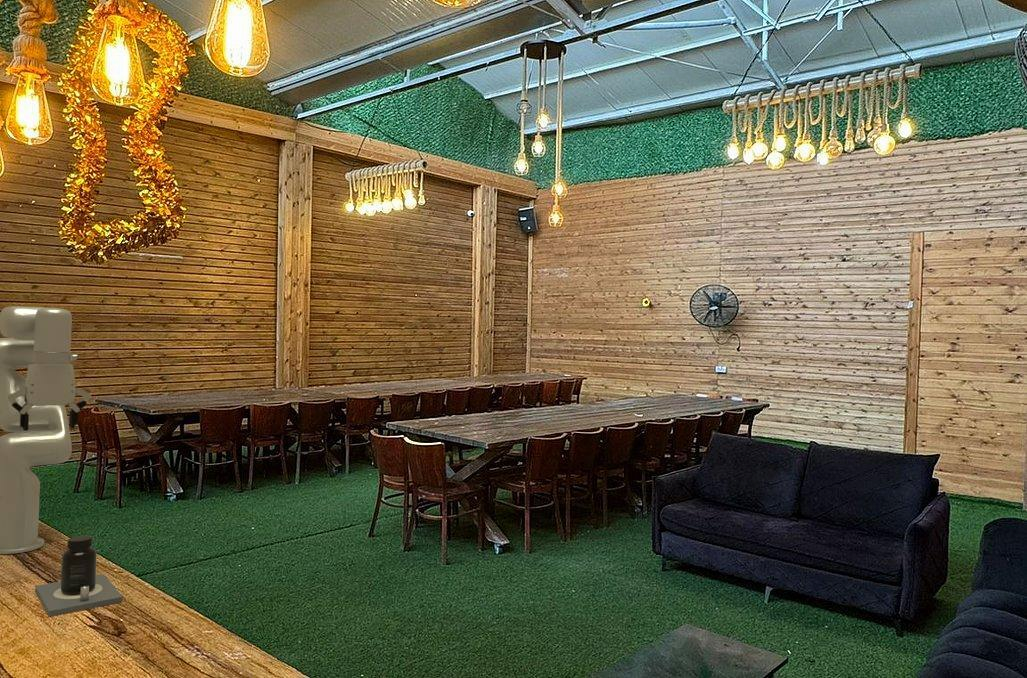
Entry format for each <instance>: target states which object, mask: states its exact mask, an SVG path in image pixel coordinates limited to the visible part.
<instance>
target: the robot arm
mask: <svg viewBox="0 0 1027 678" xmlns="http://www.w3.org/2000/svg"><path fill="white" fill-rule="evenodd" d="M72 317H73V315H72V312H71V311H69V310H67V309H64V308H59V307H57V308H56V307H43V306H23V305H22V306H21V305H19V306H18V305H17V306H16V305H15V306H14V305H11V306H10V305H9V306H5V307H4V308H2V309H1V311H0V333H1V335H2V336H3V337H1V338H0V429H1V430H3V431H5V432H8V433H5V434H4V435H1V436H0V555H11V554H12V555H13V554H23V553H26V552H27V553H28V552H31V551H35V550H37V549H40V548H42V547H43V546H44V545H45V539H44V538H42V537H39V523H40V522H39V520H40V519H39V517H40V516H39V515H40V494H41V492H40V491H41V482H40V479H39V477H38V475H36V474H35V473H34V472H33V471H32V470H31V469H30V468H31V467H38V466H47V465H57V464H63V463H65V462H67V461H68V460H69V459H70V458H71V457H72V452H73V449H72V448H73V445H72V439H71V432H70V428H71V429H75V428H76V425H78V421H79V420H78V419H79V412H80V411H81V410H82V409H83V408H84V407H85V406H87V404H88V402H89V401H90V399H91V397H92V394H91V393H89V392H87V391H85V390H82V389H80V388H78V387H76V378H75V377H76V376H75V369H74V365H73V364H70V363H71V362H72V361H77V359H78V354H74V353H72V352H71V349H72V348H71V345H72V344H71V343H72V324H73V322H72V321H73V318H72ZM14 368H27V372H26V377H24V376H23V375H22V374H21V373H19V371H16V370H15V369H14ZM76 394H77V395H79V396H82V398H81V400H80V401H79V402H78V403H77V404H76V403H75V401H76ZM66 406H68V407H69V409H70V410H71V411H69V416H68V414H67V409H66ZM68 417H69V420H68Z"/></svg>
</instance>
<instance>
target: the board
mask: <svg viewBox="0 0 1027 678" xmlns="http://www.w3.org/2000/svg"><path fill="white" fill-rule="evenodd" d="M34 589H35V590H34V592H35V593H36V596H37V597H38V599H39V601H40V603H41V604H42V606H43V608H44V610H45V612H46V614H47V616H48V617H49V618H50V617H54V616H60V615H65V614H70V613H74V611H75V612H79V611H78V610H80V611H85V610H89V609H95V608H101V607H104V606H109V605H114V604H120V603H123V595H121V593H120V592H119V590H117V588H116V587H115V586H114V585H113V583H112V582H111V581H110V580H109V578H108V577H107V576H106V575H105V574H104V573H102V574H96V585H95V588H94V589H93V590H92V591H90V592H89V586H88V585H85V586H82V587H81V594H79V595H65V594H63V593H62V592H61V580H60V581H55V582H49V583H44V584H39V585H35V587H34ZM84 609H85V610H84Z"/></svg>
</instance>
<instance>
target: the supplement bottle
mask: <svg viewBox="0 0 1027 678" xmlns="http://www.w3.org/2000/svg"><path fill="white" fill-rule="evenodd" d="M92 546H93V537H92V536H90V535H79V536H74V537H69V538H68V540H67V545H66V548H67V549H68V550H66V551H64V552H63V554H62V556H61V572H60V573H61V574H60V577H61V578H60V581H61V592H62V593H63V594H65V595H79V594H81V587H82V586H85V585H88V586H89V592H90V591H92V590H93V589H94V588H95V585H96V575H97V558H98V557H97V554H98V553H97V551H96V549H95V548H93V547H92Z"/></svg>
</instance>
